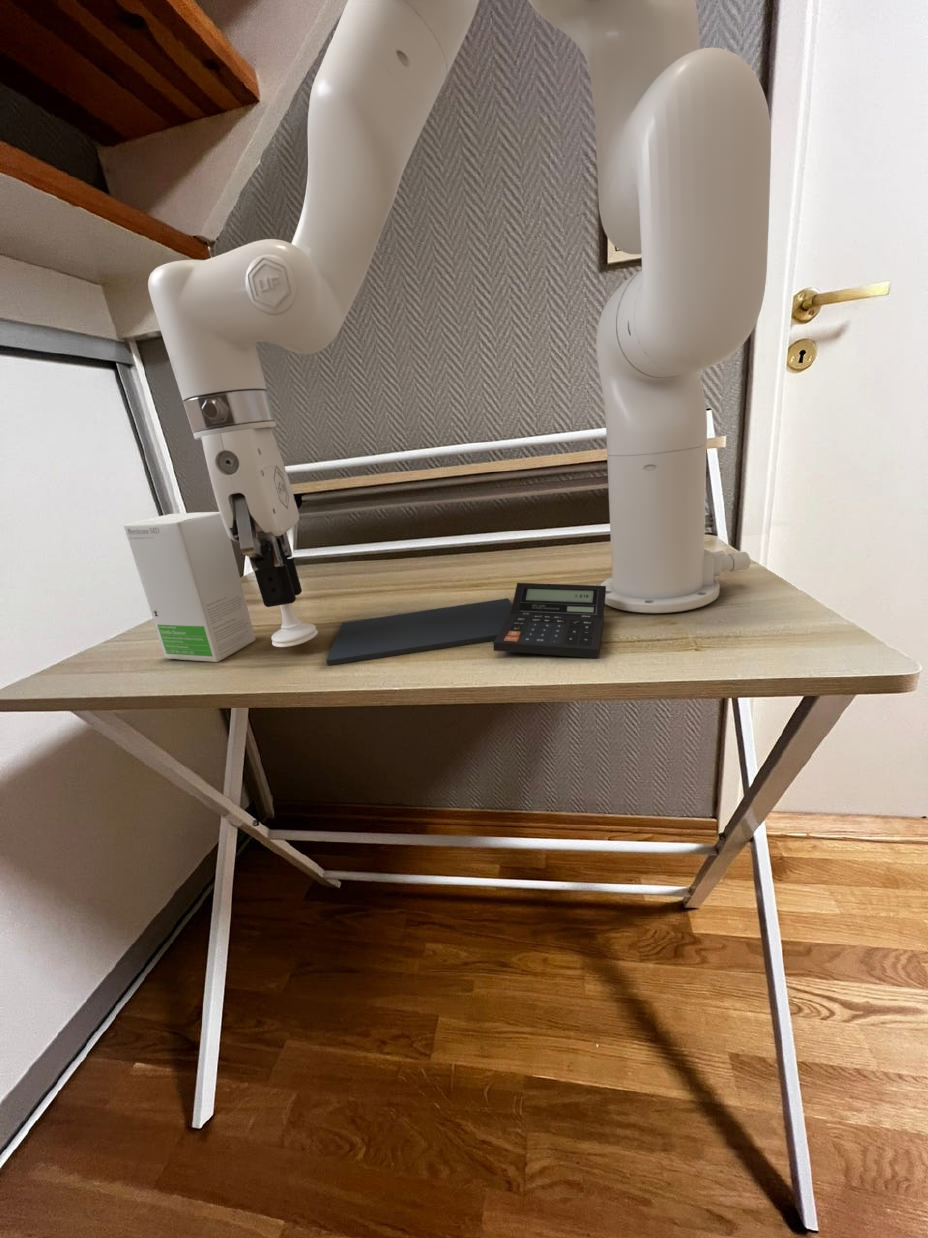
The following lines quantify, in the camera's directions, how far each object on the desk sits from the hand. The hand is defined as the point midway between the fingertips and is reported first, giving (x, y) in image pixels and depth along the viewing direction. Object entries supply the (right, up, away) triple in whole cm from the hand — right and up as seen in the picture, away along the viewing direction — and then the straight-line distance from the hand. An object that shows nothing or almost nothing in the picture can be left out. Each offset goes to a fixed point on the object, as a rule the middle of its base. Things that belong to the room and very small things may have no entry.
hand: (284, 598), depth 57 cm
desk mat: (+15, -4, +2) cm, 15 cm away
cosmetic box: (-10, -6, +6) cm, 13 cm away
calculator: (+28, -3, -4) cm, 28 cm away
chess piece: (+1, -4, +2) cm, 5 cm away
